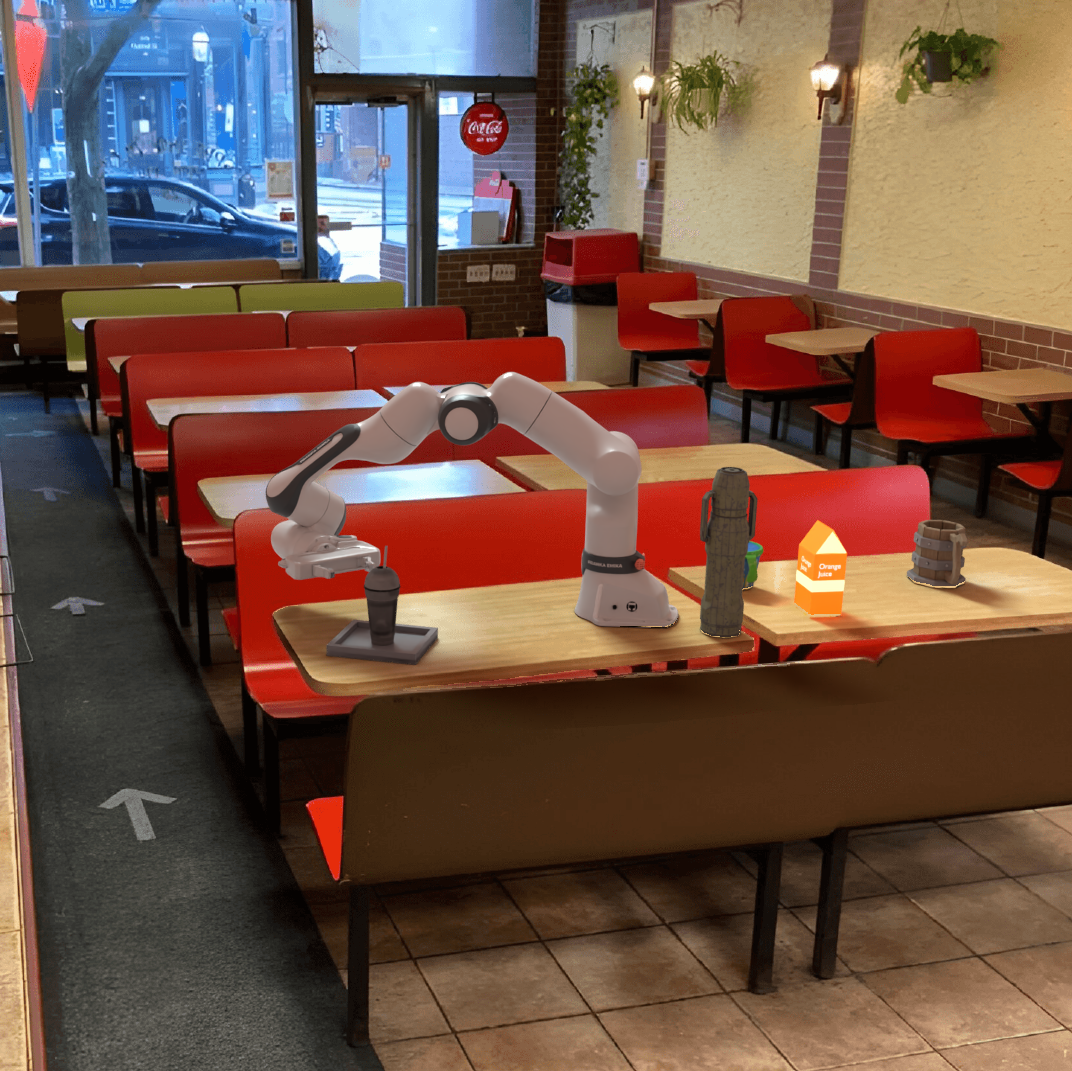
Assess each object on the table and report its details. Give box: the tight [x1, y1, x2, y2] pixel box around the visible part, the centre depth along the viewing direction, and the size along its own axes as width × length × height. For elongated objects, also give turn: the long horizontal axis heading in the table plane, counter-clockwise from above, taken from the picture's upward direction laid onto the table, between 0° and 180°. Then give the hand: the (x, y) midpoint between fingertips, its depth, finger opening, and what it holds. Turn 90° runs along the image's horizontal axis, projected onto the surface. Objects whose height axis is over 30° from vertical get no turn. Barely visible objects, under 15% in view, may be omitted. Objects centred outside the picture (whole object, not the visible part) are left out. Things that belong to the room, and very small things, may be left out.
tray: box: [325, 619, 439, 666], centre depth 265 cm, size 18×16×2 cm
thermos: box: [699, 466, 759, 637], centre depth 276 cm, size 9×12×35 cm
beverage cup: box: [363, 545, 401, 645], centre depth 263 cm, size 7×7×20 cm
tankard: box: [906, 519, 969, 586], centre depth 316 cm, size 20×13×15 cm, turn 3°
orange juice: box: [793, 519, 848, 615], centre depth 293 cm, size 8×9×20 cm
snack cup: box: [743, 540, 764, 588], centre depth 310 cm, size 16×10×10 cm
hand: (352, 571), depth 271 cm, fingers open, 8 cm apart
